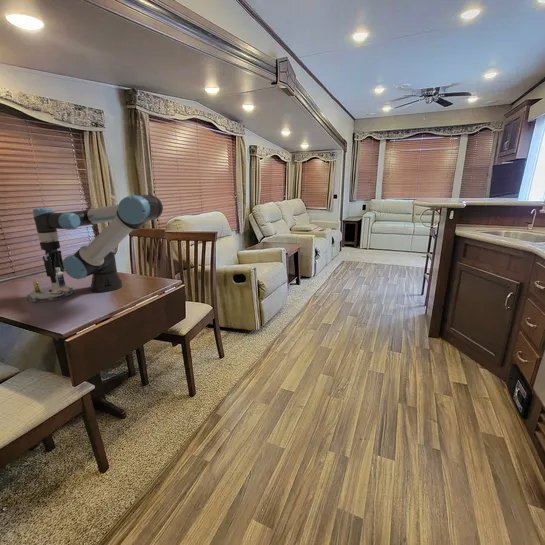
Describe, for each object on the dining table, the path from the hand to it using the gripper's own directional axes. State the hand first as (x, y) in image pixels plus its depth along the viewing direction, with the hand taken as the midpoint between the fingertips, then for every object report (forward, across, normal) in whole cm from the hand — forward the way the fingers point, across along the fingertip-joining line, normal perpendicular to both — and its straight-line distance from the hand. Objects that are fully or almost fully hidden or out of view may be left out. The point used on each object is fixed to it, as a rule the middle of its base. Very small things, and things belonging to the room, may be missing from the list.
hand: (59, 286), depth 147 cm
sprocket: (+5, 0, -4) cm, 6 cm away
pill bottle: (+1, 0, 0) cm, 1 cm away
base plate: (+5, 0, -4) cm, 6 cm away
